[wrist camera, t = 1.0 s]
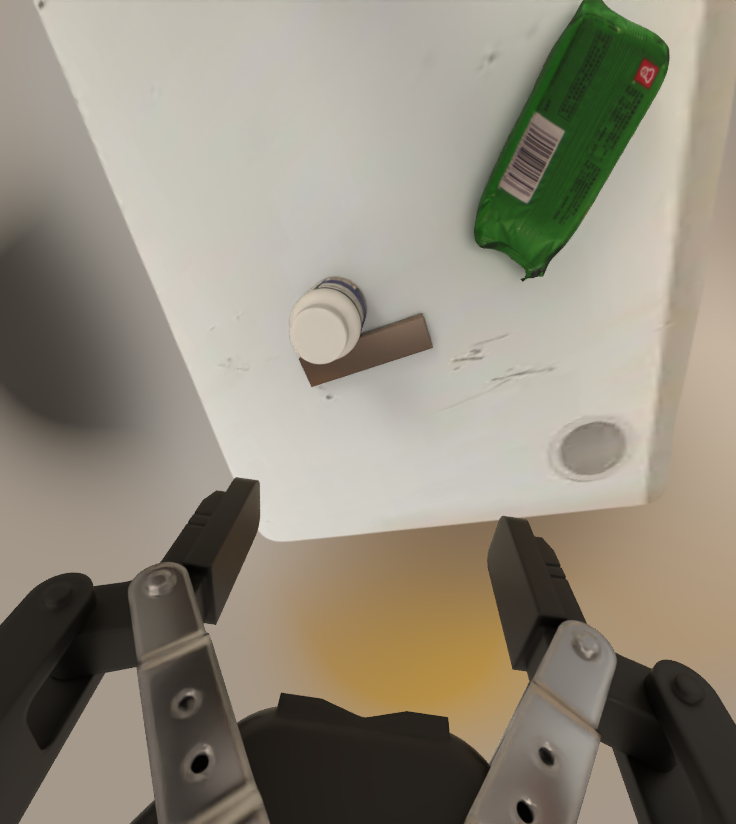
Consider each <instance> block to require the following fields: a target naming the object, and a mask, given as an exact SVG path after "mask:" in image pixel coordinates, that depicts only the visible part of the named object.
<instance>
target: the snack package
mask: <svg viewBox="0 0 736 824" xmlns="http://www.w3.org/2000/svg"><path fill="white" fill-rule="evenodd" d="M668 65H669V48H668V46H667V45H666V43H665V42H664V41H663V40H662V39H661V38H660V37H659V36H658V35H657V34H655V33H653V32H652V31H650V30H648V29H646V28H644V27H642V26H640V25H638V24H636V23H634V22H631V21H629V20H627V19H626V18H624V17H622V16H620V15H619V14H617V13H615V12H614V11H612V10H611V9H610V8H608V7H607V5H606V4H605V3H604V2H603V1H602V0H583V1H582V3H581V5H580V7H579V8H578V10H577V12H576V14H575V15H574V17H573V18H572V20H571V22H570V23H569V25H568V26H567V28H566V29H565V31H564V32H563V34H562V35H561V36H560V38H559V39H558V41H557V42H556V43H555V45H554V46H553V48H552V50H551V52H550V54H549V56H548V58H547V60H546V62H545V64H544V66H543V69H542V71H541V73H540V75H539V77H538V79H537V81H536V84H535V86H534V88H533V90H532V92H531V95H530V97H529V99H528V101H527V103H526V105H525V107H524V109H523V111H522V113H521V114H520V116H519V118H518V120H517V122H516V124H515V126H514V128H513V130H512V132H511V133H510V135H509V137H508V140H507V142H506V144H505V146H504V148H503V150H502V152H501V154H500V156H499V159H498V161H497V163H496V165H495V167H494V169H493V171H492V174H491V176H490V178H489V181H488V183H487V185H486V187H485V189H484V192H483V194H482V196H481V199H480V202H479V206H478V211H477V216H476V221H475V228H474V235H475V241H476V243H477V244H478V245H479V246H480V247H482V248H487V249H495V250H498V251H501V252H503V253H505V254H507V255H508V256H509V257H510V258H511V259H513V260H514V261H516V262H517V263H518V264H519V265H521V266H522V267H523V268H524V269H525V272H526V276H525V278H522V279H521V280H522V282H523V281H524V280H526V279H527V278H535V277H538V276H539V277H541V276H543V275H544V273H545V271H546V268H547V266H548V264H549V262H550V261H551V260H552V258H553V257H554V256H555V255H556V254H557V253H558V252H559V251H560V250H561V249H562V248H563V247H564V246H565V245H566V243H567V242H568V241H569V239H570V238H571V237H572V235H573V234H574V233H575V231H576V230H577V228H578V227H579V225H580V223H581V222H582V220H583V219H584V217H585V215H586V214H587V212H588V211H589V209H590V207H591V206H592V204H593V203H594V201H595V199H596V197H597V195H598V194H599V192H600V190H601V188H602V187H603V185H604V183H605V182H606V180H607V178H608V177H609V175H610V173H611V171H612V169H613V168H614V166H615V164H616V163H617V161H618V159H619V158H620V156H621V155H622V153H623V151H624V149H625V148H626V146H627V144H628V142H629V140H630V139H631V137H632V136H633V134H634V133H635V131H636V129H637V127H638V125H639V123H640V122H641V120H642V119H643V117H644V115H645V114H646V112H647V110H648V108H649V107H650V105H651V103H652V101H653V100H654V98H655V96H656V95H657V93H658V91H659V89H660V87H661V85H662V83H663V81H664V79H665V76H666V73H667V70H668Z"/></svg>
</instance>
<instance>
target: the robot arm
mask: <svg viewBox="0 0 736 824" xmlns="http://www.w3.org/2000/svg"><path fill="white" fill-rule="evenodd" d="M259 521H260V483H259V481H258V480H252V479H245V478H238V477H236V478H235V479H234V480H233V481H232V483H231V485H230V486H229V488H228V489H227V491H226V492H223V491H215V492H214V493H212V494H211V495H209V496H208V497H207V498H205V499H204V500H203V501H202V502H201V504H200V505H199V507H198V508H197V510H196V511H195V514H194V515H193V516H192V517H191V518H190V520H189V521H188V524H186V526H185V527H184V529H183V530H182V532H181V533H180V535H179V536H178V538H177V539H176V541H175V542H174V543H173V545H172V546H171V548H170V549H169V551H168V552H167V554H166V555H165V557H164V558H163V560H162V561H161V562H160V563H159V564H155V565H152V566H150V567H148V568H146V569H144V570H143V571H141V572H140V573H139V574H138V575H137V576H136V577H135V578H134V579H133V580H131V581H128V582H122V583H114V584H108V585H100V586H93V583H92V581H91V579H90V578H89V577H88V576H86V575H84V574H81V573H65V574H61V575H58V576H55V577H52V578H50V579H48V580H46V581H44V582H42V583H41V584H39V585H38V586H36V587H35V588H34V589H33V590H32V591H31V592H30V593H29V594H28V595H27V596H26V597H25V598H24V599H23V600H22V602H21V603H20V604H19V605H18V606H17V607H16V608H15V609H14V610H13V612H12V613H11V614H10V615H9V616H8V617H7V618H6V619H5V621H4V622H3V623H2V624H1V625H0V824H18V823H19V822H20V820H21V818H22V816H23V815H24V813H25V811H26V809H27V808H28V806H29V804H30V803H31V801H32V799H33V797H34V796H35V794H36V792H37V790H38V788H39V787H40V785H41V783H42V782H43V780H44V778H45V776H46V775H47V773H48V771H49V769H50V768H51V766H52V764H53V763H54V761H55V759H56V757H57V756H58V754H59V752H60V750H61V749H62V747H63V745H64V743H65V742H66V740H67V738H68V736H69V735H70V733H71V731H72V730H73V728H74V726H75V724H76V723H77V721H78V719H79V717H80V716H81V714H82V712H83V710H84V709H85V707H86V705H87V703H88V702H89V700H90V698H91V697H92V695H93V693H94V691H95V690H96V688H97V686H98V684H99V683H100V681H101V679H102V677H103V676H104V674H105V673H106V672H112V671H117V670H122V669H127V668H133V667H137V675H138V682H139V689H140V697H141V704H142V711H143V718H144V726H145V733H146V740H147V747H148V754H149V761H150V769H151V776H152V783H153V790H154V797H155V800H154V801H153V802H152V803H151V804H150V805H149V806H147V807H146V808H145V809H144V810H143V811H142V812H141V813H140V814H139V815H138V816H137V817H136V818H135V819H134V820H133V821H132V822H131V823H130V824H577V820H578V817H579V813H580V810H581V806H582V803H583V799H584V796H585V793H586V789H587V785H588V782H589V779H590V775H591V771H592V768H593V765H594V761H595V758H596V754H597V751H598V747H599V744H600V742H602V743H604V744H606V745H608V746H610V747H612V749H613V751H614V755H615V757H616V760H617V763H618V766H619V768H620V772H621V774H622V778H623V781H624V783H625V786H626V789H627V792H628V795H629V798H630V801H631V804H632V807H633V809H634V812H635V815H636V817H637V821H638V824H736V725H735V723H734V721H733V720H732V718H731V717H730V715H729V713H728V711H727V710H726V708H725V706H724V705H723V703H722V702H721V700H720V698H719V696H718V695H717V693H716V692H715V690H714V689H713V688H712V687H711V686H710V684H708V683H707V681H706V680H705V679H703V678H702V677H701V676H700V675H699V674H698V673H696V672H695V671H694V670H692V669H690V668H689V667H687V666H685V665H683V664H681V663H678V662H676V661H672V660H661V661H659V662H657V663H656V665H655V666H654V667H653V668H652V669H651V668H648V667H646V666H644V665H642V664H639V663H637V662H635V661H632V660H630V659H627V658H625V657H623V656H621V655H619V654H617V653H615V652H614V649H613V647H612V646H611V644H610V643H609V642H608V640H607V639H606V638H605V637H604V636H603V635H602V634H601V633H600V632H599V631H597V630H596V629H594V628H593V627H591V626H590V625H588V624H587V623H586V621H585V618H584V616H583V614H582V612H581V610H580V607H579V605H578V603H577V601H576V598H575V596H574V594H573V592H572V590H571V588H570V585H569V583H568V581H567V580H566V579H565V577H566V576H565V574H564V572H563V570H562V568H560V563H559V561H558V559H557V556H556V554H555V552H554V550H553V549H552V548H551V547H550V546H549V545H548V544H547V543H546V542H545V541H544V539H543V538H541V537H534V535H533V532H532V530H531V527H530V525H529V523H528V521H527V520H526V519H522V518H514V517H507V516H502V517H501V518H500V520H499V522H498V525H497V528H496V531H495V533H494V536H493V539H492V542H491V545H490V548H489V552H488V559H487V561H488V562H487V563H488V571H489V575H490V579H491V583H492V587H493V591H494V595H495V599H496V603H497V607H498V611H499V616H500V619H501V624H502V627H503V632H504V636H505V640H506V643H507V648H508V652H509V656H510V660H511V664H512V669H514V670H521V671H527V673H528V677H529V681H530V682H529V684H528V686H527V687H526V690H525V692H524V694H523V696H522V698H521V700H520V702H519V704H518V706H517V708H516V710H515V712H514V714H513V716H512V718H511V720H510V722H509V724H508V726H507V728H506V730H505V732H504V734H503V736H502V738H501V740H500V742H499V744H498V746H497V748H496V750H495V752H494V754H493V756H492V758H491V760H490V762H489V764H488V763H487V761H486V760H485V759H484V758H483V757H482V756H481V755H480V754H479V753H478V752H477V751H476V750H475V749H474V748H472V747H471V746H470V745H469V744H467V743H466V742H465V741H463V740H462V739H460V738H458V737H457V736H455V735H453V734H451V733H449V722H448V717H442V716H436V715H428V714H422V713H415V712H408V711H405V712H399V713H393V714H386V715H380V716H373V717H366V718H365V717H360V716H358V715H356V714H353V713H351V712H349V711H347V710H345V709H343V708H341V707H339V706H336V705H334V704H332V703H330V702H328V701H326V700H324V699H320V698H313V697H306V696H300V695H293V694H286V693H281V695H280V699H279V703H278V707H272V708H268V709H264V710H261V711H258V712H256V713H254V714H251V715H249V716H247V717H246V718H244V719H242V720H241V721H239V722H238V723H237V722H236V719H235V715H234V712H233V709H232V706H231V702H230V699H229V696H228V693H227V690H226V686H225V683H224V679H223V676H222V673H221V670H220V667H219V664H218V660H217V656H216V654H215V650H214V647H213V643H212V640H211V638H210V635H209V633H206V631H205V628H204V623H208V624H215V625H216V623H217V621H218V619H219V617H220V615H221V612H222V610H223V608H224V606H225V603H226V601H227V599H228V597H229V594H230V592H231V590H232V588H233V585H234V583H235V581H236V579H237V576H238V574H239V572H240V570H241V567H242V565H243V563H244V561H245V558H246V556H247V554H248V552H249V549H250V547H251V545H252V543H253V540H254V538H255V536H256V533H257V530H258V527H259Z"/></svg>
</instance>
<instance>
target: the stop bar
mask: <svg viewBox="0 0 736 824" xmlns="http://www.w3.org/2000/svg"><path fill="white" fill-rule="evenodd" d="M430 348H433V346H432V343H431V339H430V336H429V333H428V330H427V326H426V323H425V320H424V316H423V314H419V315H416V316H413V317H410V318H407V319H404V320H401V321H398V322H396V323H393V324H390V325H387V326H384V327H381V328H378V329H375V330H372V331H369V332H367V333H364V334H361V335H360V337H359V339H358V341H357V343H356V345H355V346H354V348H353V349H352V350H351V351H350V352H349V353H348V354H346V355H345V356H343V357H341V358H339V359H336V360H334V361H332V362H330V363H326V364H314V363H310V362H308V361H306V360H304V359H303V358H301V357H300V358H299V360H300V363H301V365H302V367H303V369H304V371H305V374H306V376H307V378H308V380H309V382H310V384H311V387H313V386H316V385H319V384H322V383H325V382H328V381H332V380H335V379H338V378H341V377H344V376H347V375H350V374H353V373H356V372H359V371H362V370H366V369H369V368H372V367H375V366H378V365H381V364H384V363H387V362H390V361H393V360H396V359H400V358H403V357H406V356H409V355H412V354H415V353H418V352H421V351H424V350H427V349H430Z"/></svg>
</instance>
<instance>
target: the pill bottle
mask: <svg viewBox="0 0 736 824" xmlns="http://www.w3.org/2000/svg"><path fill="white" fill-rule="evenodd" d="M366 311H367V306H366V301H365V298H364V295H363V293H362V292H361V290H360V289H359V287H358V286H357V285H355V284H354V283H353V282H352V281H350V280H348V279H345V278H342V277H330V278H326V279H324V280H322V281H320V282H318V283H317V284H316V285H315V286H313V287H312V288H311V289H310V290H309V291H308V292H307V293H306V294H304V295H303V296H302V297H301V298H300V299H299V300H298V301H297V302H296V304H295V305H294V307H293V309H292V311H291V314H290V321H289V325H290V341H291V344H292V346H293V348H294V350H295V351H296V353H297V354H298V355H299V356H300V357H301V358H303V359H304V360H306V361H308V362H310V363H314V364H326V363H330V362H332V361H334V360H336V359H339V358H341V357H343V356H345V355H346V354H348V353H349V352H350V351H351V350H352V349H353V348H354V346H355V345H356V343H357V341H358V339H359V337H360V333H361V330H362V327H363V324H364V321H365V317H366Z"/></svg>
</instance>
